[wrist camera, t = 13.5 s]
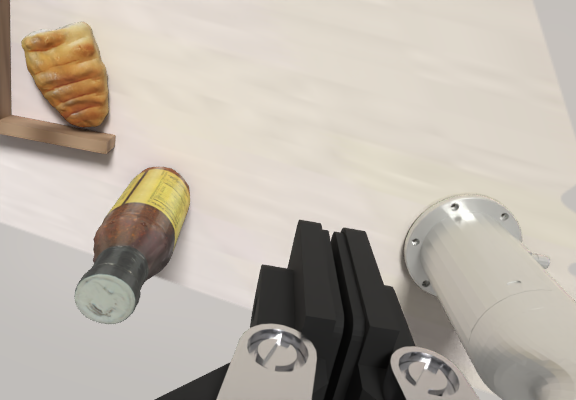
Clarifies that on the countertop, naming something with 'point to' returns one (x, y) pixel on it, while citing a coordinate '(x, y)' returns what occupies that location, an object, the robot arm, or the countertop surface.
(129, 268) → the sauce bottle
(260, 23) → the countertop surface
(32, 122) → the open wooden frame
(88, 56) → the pastry
